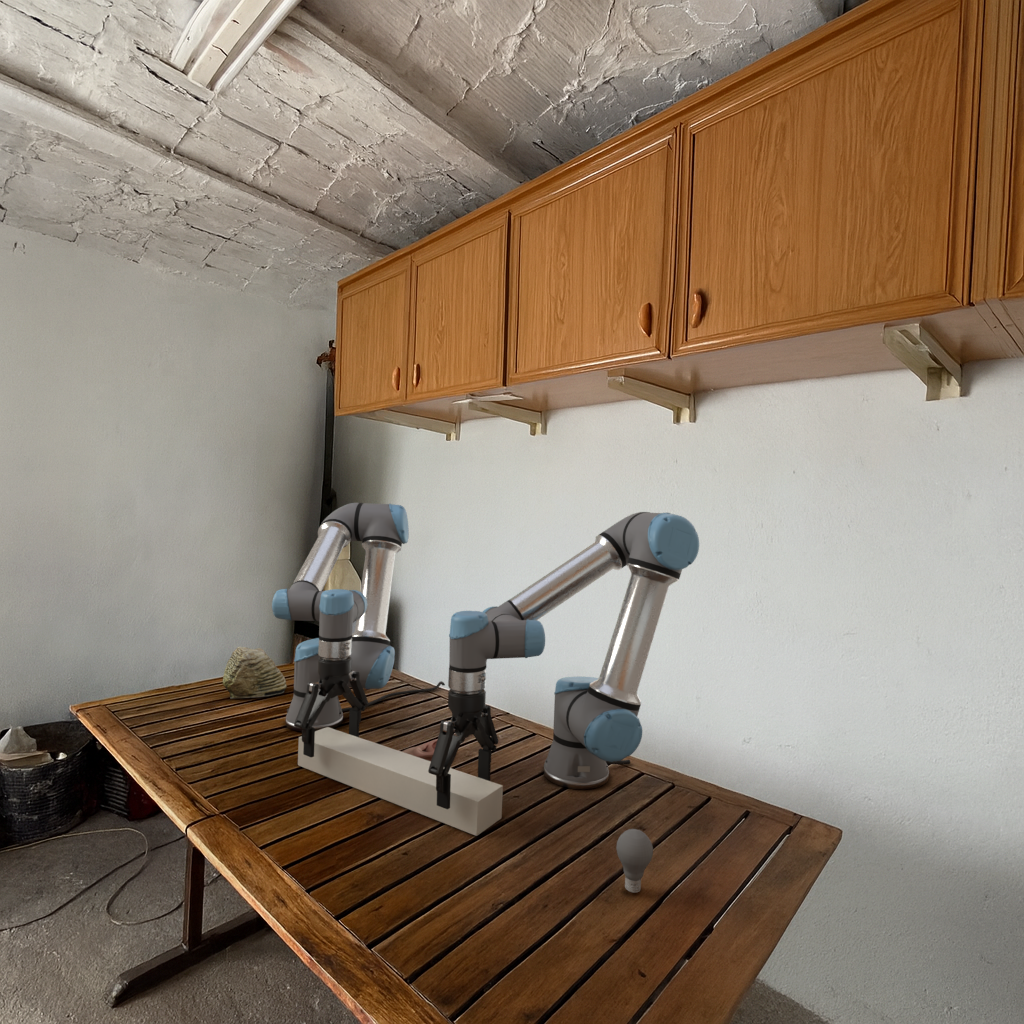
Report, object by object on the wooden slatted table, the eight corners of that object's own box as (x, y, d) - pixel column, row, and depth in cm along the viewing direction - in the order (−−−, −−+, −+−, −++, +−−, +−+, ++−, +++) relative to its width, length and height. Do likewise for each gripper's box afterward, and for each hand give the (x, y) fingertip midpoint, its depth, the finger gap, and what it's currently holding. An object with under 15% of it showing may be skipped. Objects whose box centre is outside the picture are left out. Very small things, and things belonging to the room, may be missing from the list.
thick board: (297, 765, 149) (298, 737, 149) (326, 753, 156) (327, 726, 156) (476, 836, 121) (478, 801, 121) (501, 818, 128) (503, 785, 128)
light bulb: (610, 879, 108) (613, 822, 108) (644, 879, 109) (647, 822, 109) (619, 902, 102) (622, 840, 102) (655, 901, 103) (658, 840, 103)
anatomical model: (390, 746, 152) (408, 729, 163) (390, 762, 152) (407, 745, 163) (443, 753, 149) (457, 735, 160) (443, 770, 149) (457, 751, 160)
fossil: (218, 695, 195) (220, 647, 195) (278, 685, 208) (279, 640, 207) (228, 703, 189) (230, 653, 188) (289, 692, 201) (290, 645, 201)
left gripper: (301, 671, 136) (298, 768, 136) (384, 649, 157) (381, 733, 157) (279, 664, 140) (276, 759, 140) (362, 644, 161) (360, 726, 161)
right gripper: (442, 709, 115) (439, 824, 115) (516, 678, 136) (513, 776, 136) (411, 701, 119) (408, 812, 119) (487, 672, 140) (484, 767, 140)
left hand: (332, 746), depth 149 cm, fingers open, 13 cm apart
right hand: (464, 793), depth 128 cm, fingers open, 13 cm apart
